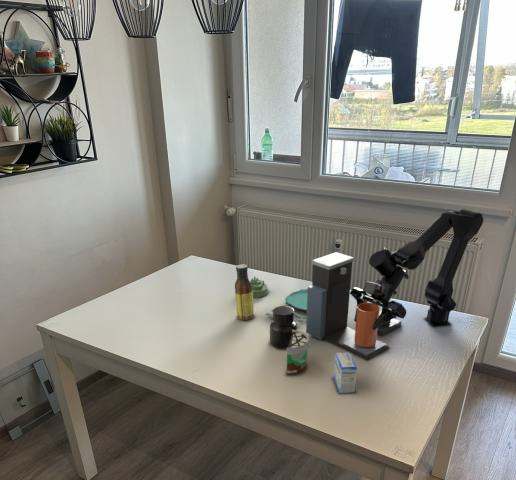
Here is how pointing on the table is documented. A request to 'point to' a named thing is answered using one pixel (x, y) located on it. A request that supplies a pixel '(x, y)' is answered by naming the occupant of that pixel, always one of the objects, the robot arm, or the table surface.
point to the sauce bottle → (243, 294)
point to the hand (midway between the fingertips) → (363, 325)
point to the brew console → (388, 326)
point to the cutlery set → (296, 302)
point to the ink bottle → (282, 327)
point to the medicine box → (345, 372)
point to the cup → (366, 324)
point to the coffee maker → (334, 305)
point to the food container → (297, 352)
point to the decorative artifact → (258, 287)
